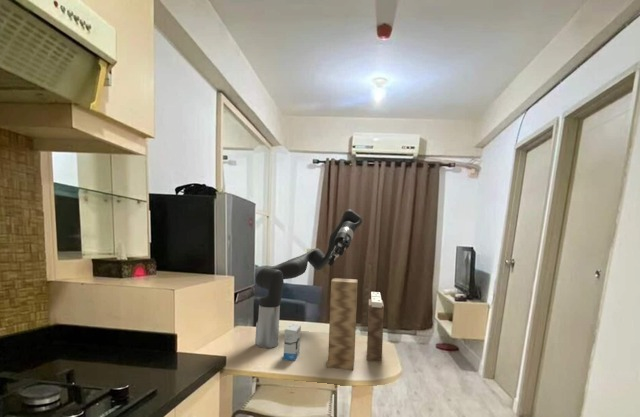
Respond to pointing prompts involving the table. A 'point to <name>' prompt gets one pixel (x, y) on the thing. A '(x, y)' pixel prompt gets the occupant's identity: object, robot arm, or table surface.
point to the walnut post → (375, 332)
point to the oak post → (342, 323)
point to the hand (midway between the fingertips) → (334, 259)
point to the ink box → (292, 342)
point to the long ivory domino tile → (376, 299)
